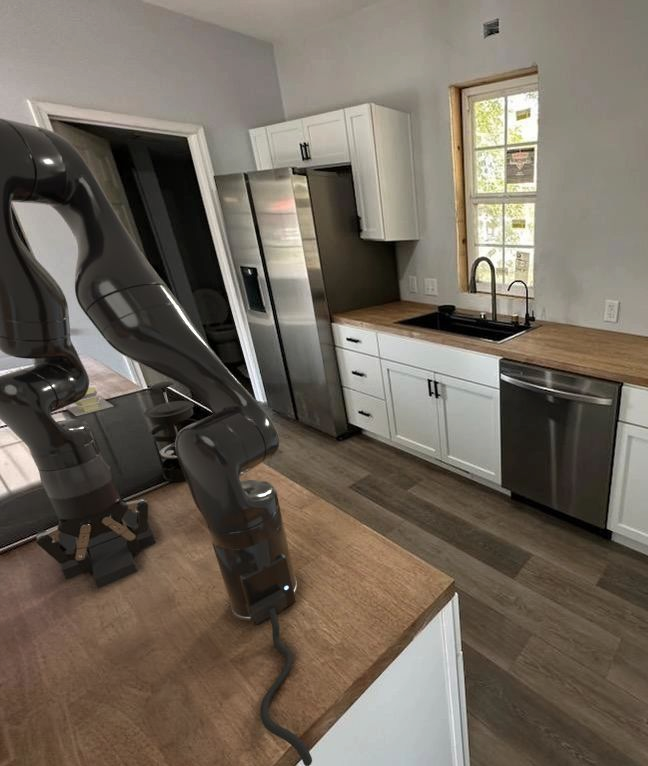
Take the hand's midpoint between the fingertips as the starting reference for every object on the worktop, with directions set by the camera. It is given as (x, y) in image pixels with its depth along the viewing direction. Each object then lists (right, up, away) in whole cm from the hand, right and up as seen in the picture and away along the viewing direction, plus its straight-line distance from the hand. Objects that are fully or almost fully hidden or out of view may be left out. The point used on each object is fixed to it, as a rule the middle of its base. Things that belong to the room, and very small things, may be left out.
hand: (113, 562), depth 73 cm
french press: (-8, +10, +27) cm, 30 cm away
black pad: (0, 0, 0) cm, 0 cm away
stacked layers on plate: (-64, +24, +59) cm, 90 cm away
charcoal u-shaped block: (-6, +2, +5) cm, 8 cm away
